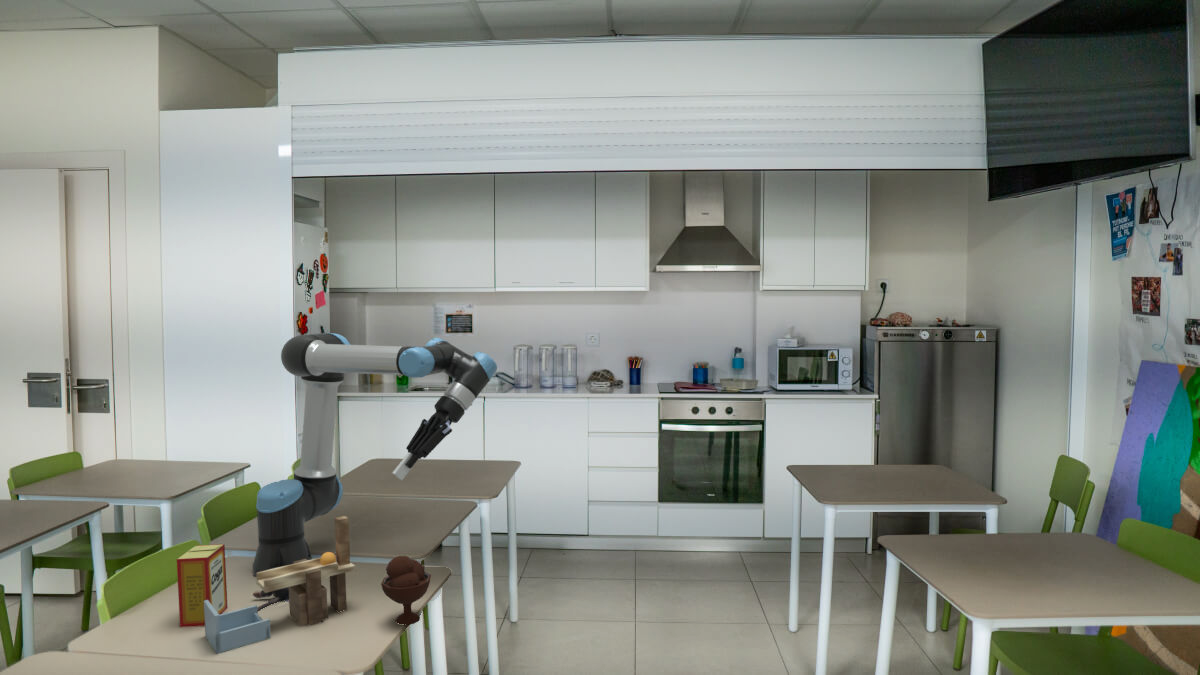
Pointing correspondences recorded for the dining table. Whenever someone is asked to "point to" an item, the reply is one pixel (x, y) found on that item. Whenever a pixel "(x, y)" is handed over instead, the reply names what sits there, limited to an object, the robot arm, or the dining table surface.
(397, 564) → the ice cream bowl
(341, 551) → the lever
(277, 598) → the stuffed animal
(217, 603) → the baking soda box
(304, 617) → the stand
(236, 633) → the bin
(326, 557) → the ball
